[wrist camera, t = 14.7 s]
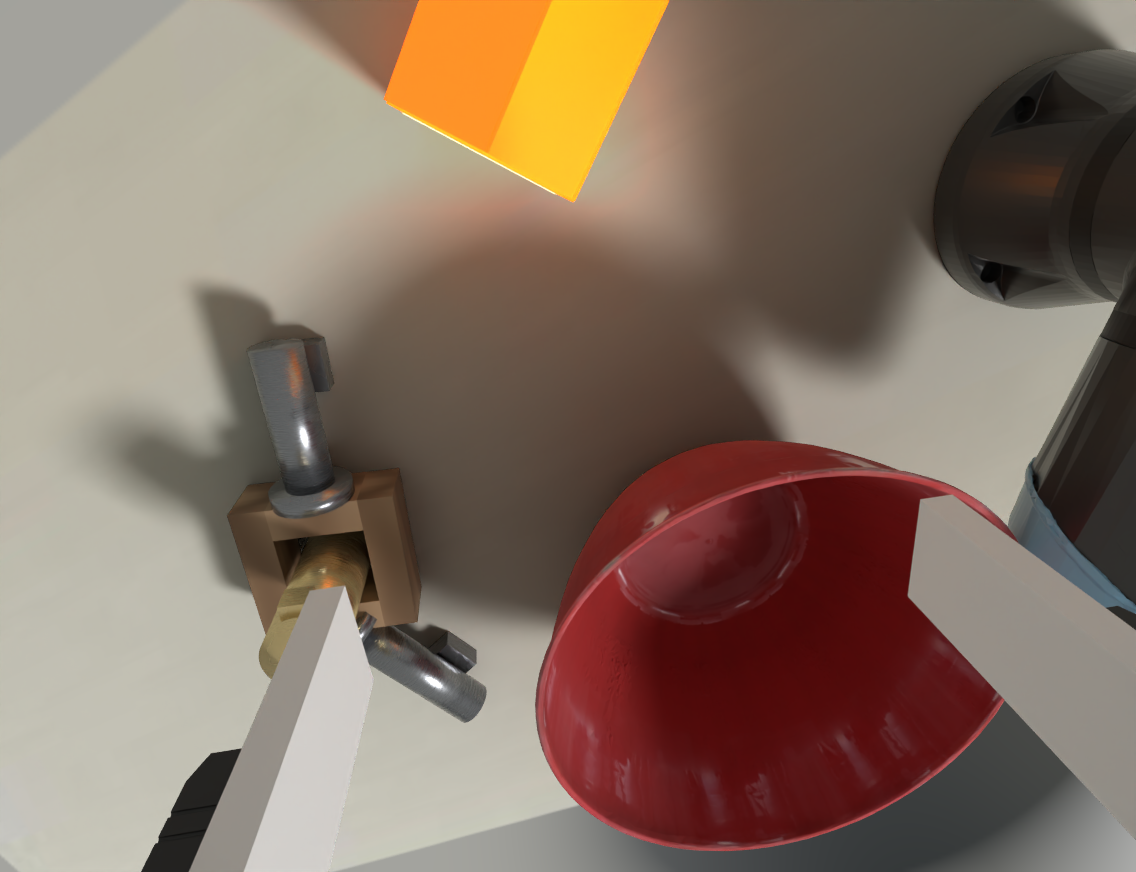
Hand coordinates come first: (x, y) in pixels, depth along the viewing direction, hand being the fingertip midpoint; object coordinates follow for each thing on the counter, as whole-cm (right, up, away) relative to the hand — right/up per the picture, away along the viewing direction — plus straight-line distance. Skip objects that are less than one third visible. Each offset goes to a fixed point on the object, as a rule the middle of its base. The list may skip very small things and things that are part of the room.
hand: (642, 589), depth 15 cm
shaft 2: (-13, -12, +35) cm, 40 cm away
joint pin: (-18, -4, +31) cm, 36 cm away
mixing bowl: (+9, -4, +35) cm, 37 cm away
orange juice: (-5, +23, +21) cm, 32 cm away
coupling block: (-18, -4, +31) cm, 36 cm away
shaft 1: (-19, +5, +27) cm, 33 cm away
